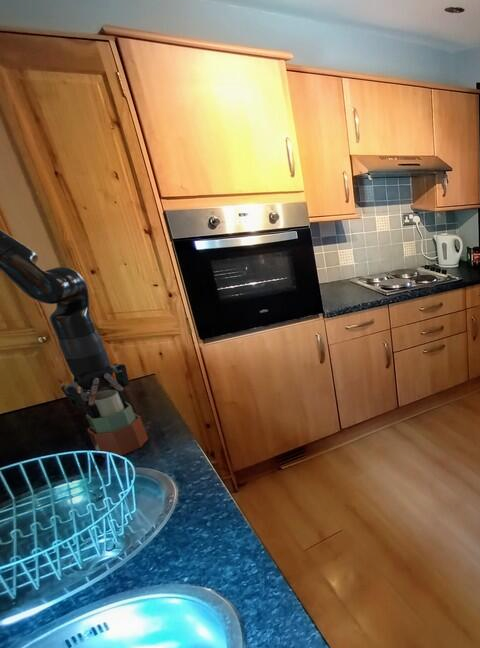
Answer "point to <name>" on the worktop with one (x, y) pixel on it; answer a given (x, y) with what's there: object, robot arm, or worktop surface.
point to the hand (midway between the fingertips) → (109, 410)
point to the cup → (108, 403)
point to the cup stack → (118, 432)
